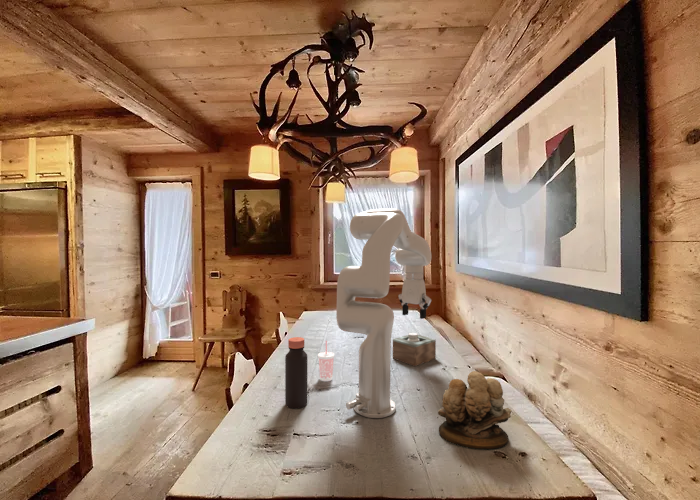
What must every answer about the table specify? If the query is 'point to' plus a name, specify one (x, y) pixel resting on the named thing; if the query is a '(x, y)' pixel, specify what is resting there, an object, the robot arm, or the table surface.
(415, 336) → the pill bottle
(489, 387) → the owl figurine
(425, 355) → the box
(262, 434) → the table surface
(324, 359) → the beverage cup
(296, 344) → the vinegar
